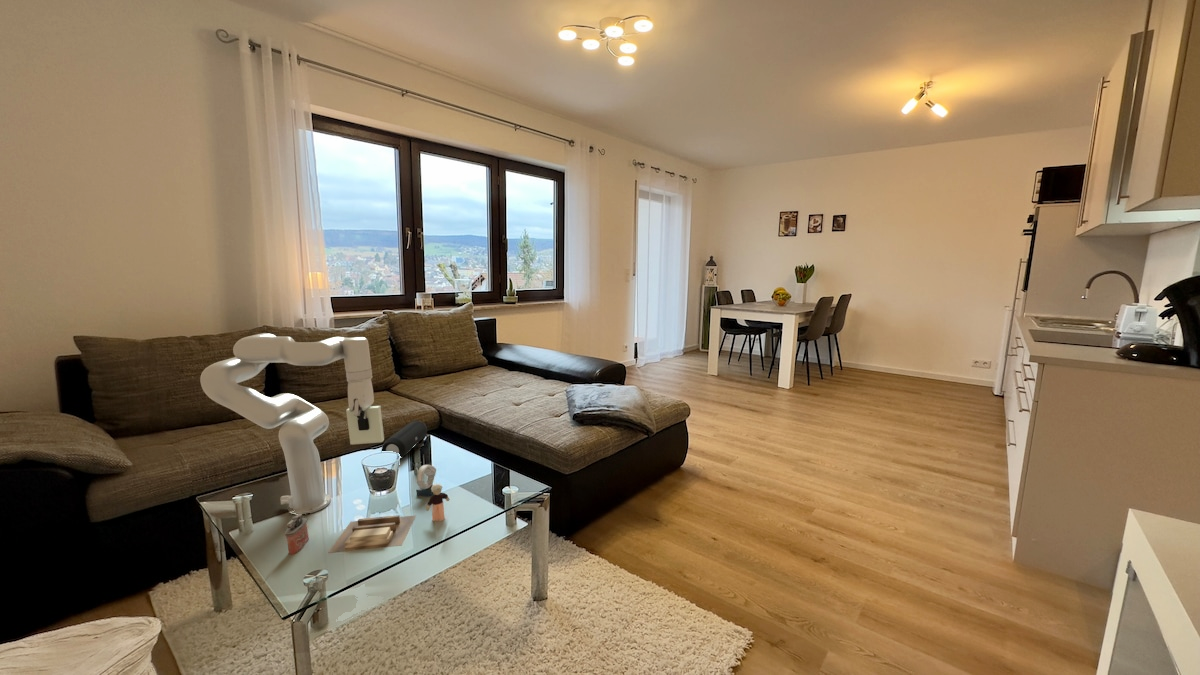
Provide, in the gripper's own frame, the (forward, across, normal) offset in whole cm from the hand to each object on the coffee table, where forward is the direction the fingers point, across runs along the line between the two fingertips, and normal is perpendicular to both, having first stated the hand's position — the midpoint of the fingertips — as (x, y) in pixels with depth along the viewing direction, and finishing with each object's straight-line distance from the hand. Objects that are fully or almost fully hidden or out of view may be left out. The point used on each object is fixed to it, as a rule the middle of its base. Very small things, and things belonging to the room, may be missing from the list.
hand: (365, 427), depth 156 cm
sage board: (+5, 0, 0) cm, 5 cm away
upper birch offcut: (+25, +26, +8) cm, 36 cm away
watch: (+27, -2, +17) cm, 32 cm away
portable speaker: (+28, -46, -2) cm, 54 cm away
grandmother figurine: (+27, +16, +25) cm, 40 cm away
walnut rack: (+27, +21, +7) cm, 35 cm away
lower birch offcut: (+26, +26, +7) cm, 37 cm away
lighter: (+27, +24, -13) cm, 39 cm away
